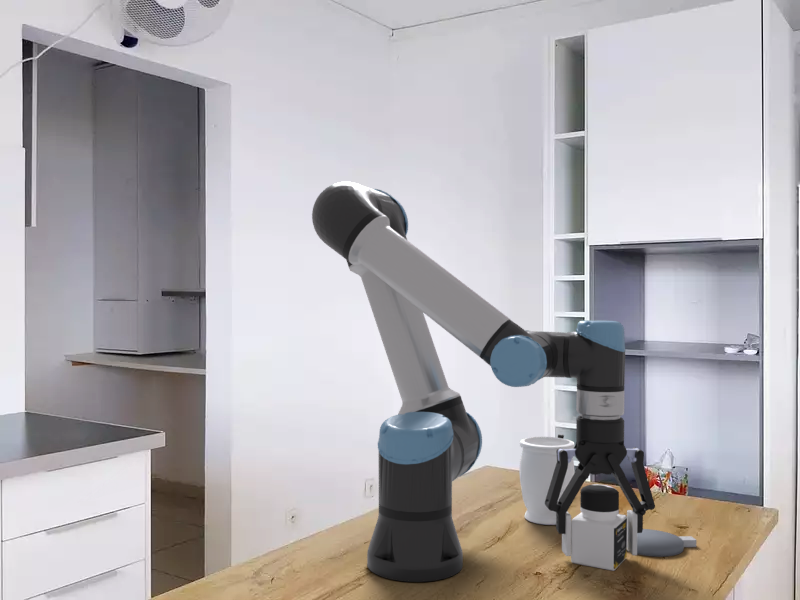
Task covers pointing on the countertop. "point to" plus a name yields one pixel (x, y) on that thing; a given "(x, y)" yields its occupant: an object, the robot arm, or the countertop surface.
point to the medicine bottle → (599, 529)
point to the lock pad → (662, 543)
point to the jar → (541, 475)
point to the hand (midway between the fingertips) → (599, 552)
